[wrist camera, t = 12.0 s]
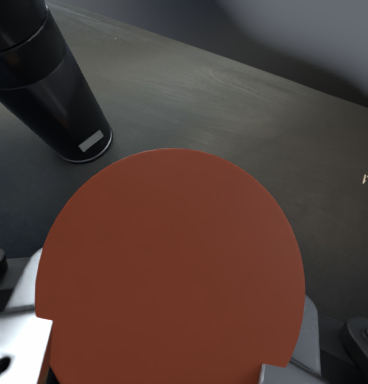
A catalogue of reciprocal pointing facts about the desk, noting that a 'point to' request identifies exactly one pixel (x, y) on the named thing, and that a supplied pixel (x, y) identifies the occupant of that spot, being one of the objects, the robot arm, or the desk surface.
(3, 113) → the desk surface
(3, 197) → the desk surface
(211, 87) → the desk surface
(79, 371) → the lid
